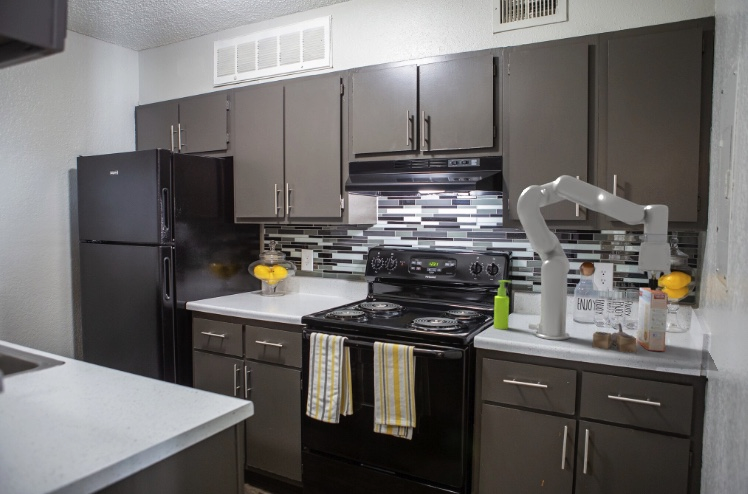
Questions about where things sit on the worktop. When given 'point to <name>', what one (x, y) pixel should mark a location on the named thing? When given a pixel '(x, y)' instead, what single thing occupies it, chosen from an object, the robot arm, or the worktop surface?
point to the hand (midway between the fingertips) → (653, 289)
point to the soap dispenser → (501, 307)
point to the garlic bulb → (614, 335)
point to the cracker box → (652, 319)
